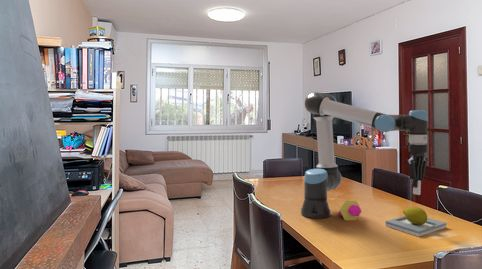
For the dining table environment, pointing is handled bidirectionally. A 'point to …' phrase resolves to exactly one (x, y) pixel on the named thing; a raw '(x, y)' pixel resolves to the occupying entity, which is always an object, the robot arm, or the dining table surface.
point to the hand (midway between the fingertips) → (416, 194)
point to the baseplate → (415, 226)
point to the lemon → (415, 215)
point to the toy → (350, 210)
